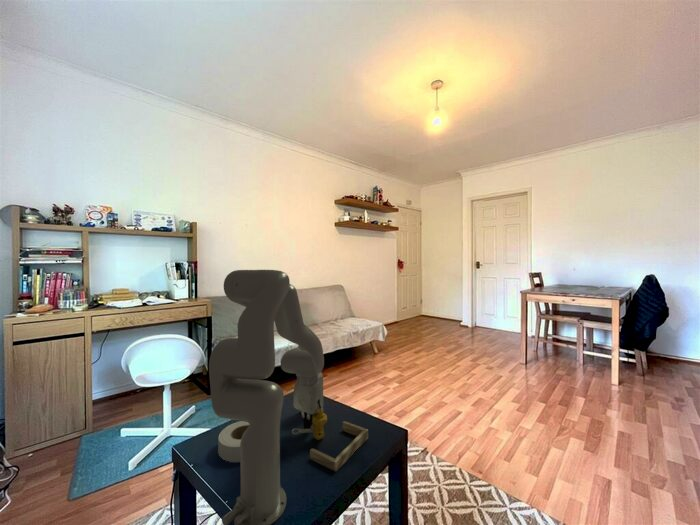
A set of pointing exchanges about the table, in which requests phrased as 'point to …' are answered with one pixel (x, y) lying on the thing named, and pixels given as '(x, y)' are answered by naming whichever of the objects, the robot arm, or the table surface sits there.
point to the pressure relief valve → (315, 425)
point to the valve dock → (346, 453)
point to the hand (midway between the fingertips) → (308, 427)
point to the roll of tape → (231, 441)
